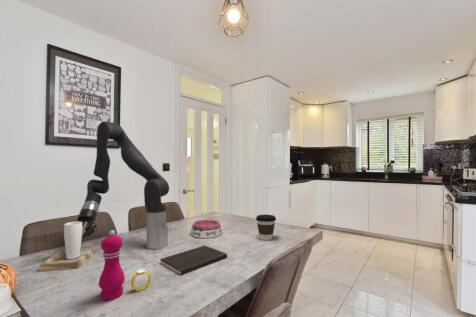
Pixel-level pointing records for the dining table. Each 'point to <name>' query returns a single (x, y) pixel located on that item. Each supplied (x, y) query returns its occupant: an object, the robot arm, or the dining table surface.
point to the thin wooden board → (51, 264)
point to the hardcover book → (193, 259)
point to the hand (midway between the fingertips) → (77, 244)
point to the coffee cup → (266, 226)
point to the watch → (140, 274)
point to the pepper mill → (111, 268)
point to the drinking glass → (73, 239)
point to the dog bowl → (206, 229)
